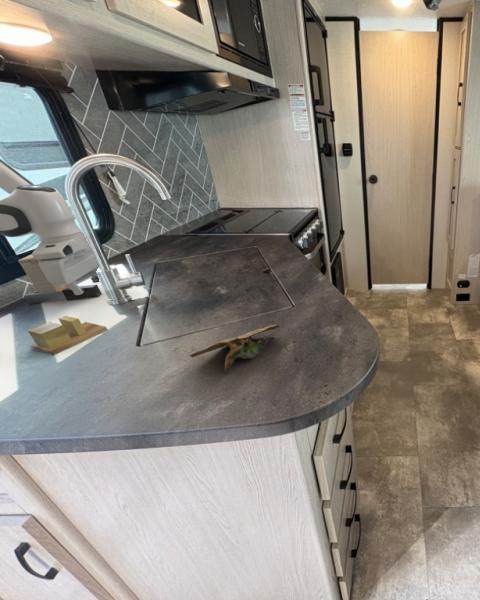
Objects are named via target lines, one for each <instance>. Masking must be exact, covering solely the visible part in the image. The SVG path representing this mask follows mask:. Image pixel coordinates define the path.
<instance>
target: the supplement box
mask: <svg viewBox="0 0 480 600" xmlns="http://www.w3.org/2000/svg"><path fill="white" fill-rule="evenodd" d="M17 261H18V263H19V264H20V266H21V267H22V269H23V271H24V272H25V274H26V276H27V278H28V279H29V281H30V283H31V284H32V286H33V287H34V289H35V291H36V292H37V293H45V292H54V291H62V290H64V289H65V288H68V287H66V285H63V286H54V285H52V284H51V283H50V282H49V281H48V280H47V278H46V277H45V275H44V273H43V271H42V270H41V268H40V265H39V262H40V260H35V259H34V257H33V255H32V253H31V254H29V255H26V256H24V257H22V258H20V259H18V260H17Z"/></svg>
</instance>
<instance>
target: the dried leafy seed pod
mask: <svg viewBox="0 0 480 600" xmlns="http://www.w3.org/2000/svg"><path fill="white" fill-rule="evenodd" d="M276 328H280V324H272V325H269V326H265V327H263V328H257V329H254V330H252V331H249V332H247V333H243V334H242V335H240V336H237V337H231V338H227V339H226V338H225V339H222V340H219V341H217V342H215V343H214V344H211V345H209V346H207V347H205V348H203V349H200V350H197V351H196V352H193V353H192V354H189V356H188V357H191V358H195V357H198V356H200V355H203V354H206V353H209V352H212V351H215V350H218V349H222V348H225V347H227V348H228V349H229V351H228V352H227V354H226V355H225V359H224V371H225V372H224V373H225V374H226V375H227V374H229V373H230V369H231V367H232V365H233V364H234V363H235V360H236V359H237V358H240V359H243V360H251V359H252V360H253V359H255V358H256V357H257V356H259V355H260V354H261V352H262V351H263V349H264V347H265V346H266V345H267V343H268V342H269V340H275V336H269V337H268V339H266V338H265V337H264V338H263V339H260V340H258V341H253V336H256V335H259V334H261V333H264V332H267V331H273V330H276Z"/></svg>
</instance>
